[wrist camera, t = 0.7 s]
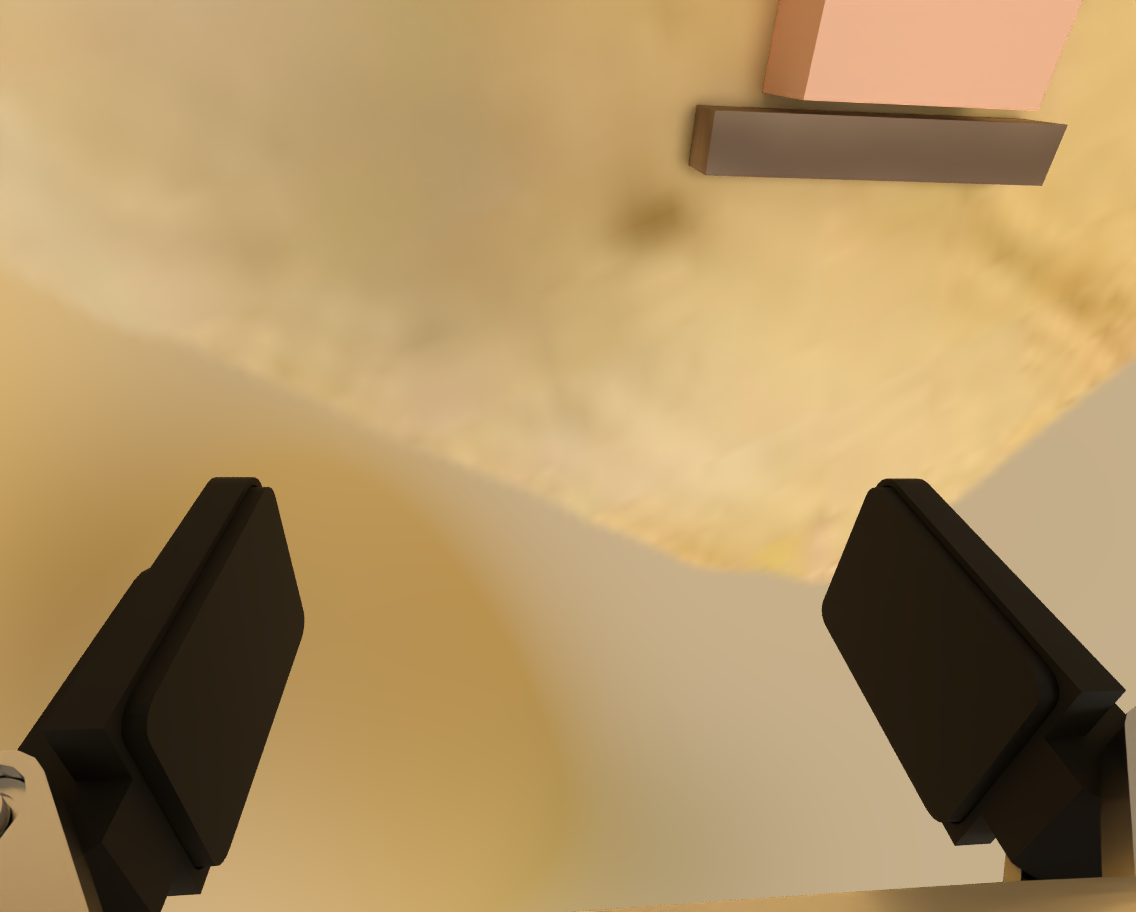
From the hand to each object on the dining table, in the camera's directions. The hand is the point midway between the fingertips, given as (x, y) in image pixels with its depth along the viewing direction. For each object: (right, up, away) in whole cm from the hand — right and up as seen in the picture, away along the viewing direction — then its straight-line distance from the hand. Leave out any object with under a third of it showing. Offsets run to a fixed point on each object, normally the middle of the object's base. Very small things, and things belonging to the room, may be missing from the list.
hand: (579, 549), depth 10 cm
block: (+14, +21, +17) cm, 31 cm away
